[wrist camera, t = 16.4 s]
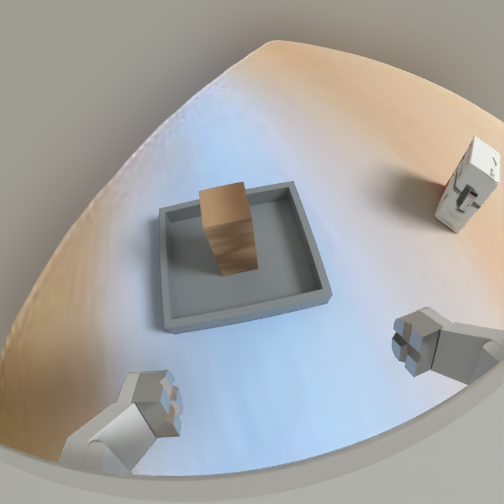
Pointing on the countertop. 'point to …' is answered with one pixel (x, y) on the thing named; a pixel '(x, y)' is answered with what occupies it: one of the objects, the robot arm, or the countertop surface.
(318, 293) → the tray
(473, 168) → the ink box
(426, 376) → the countertop surface
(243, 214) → the tan block
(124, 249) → the countertop surface
